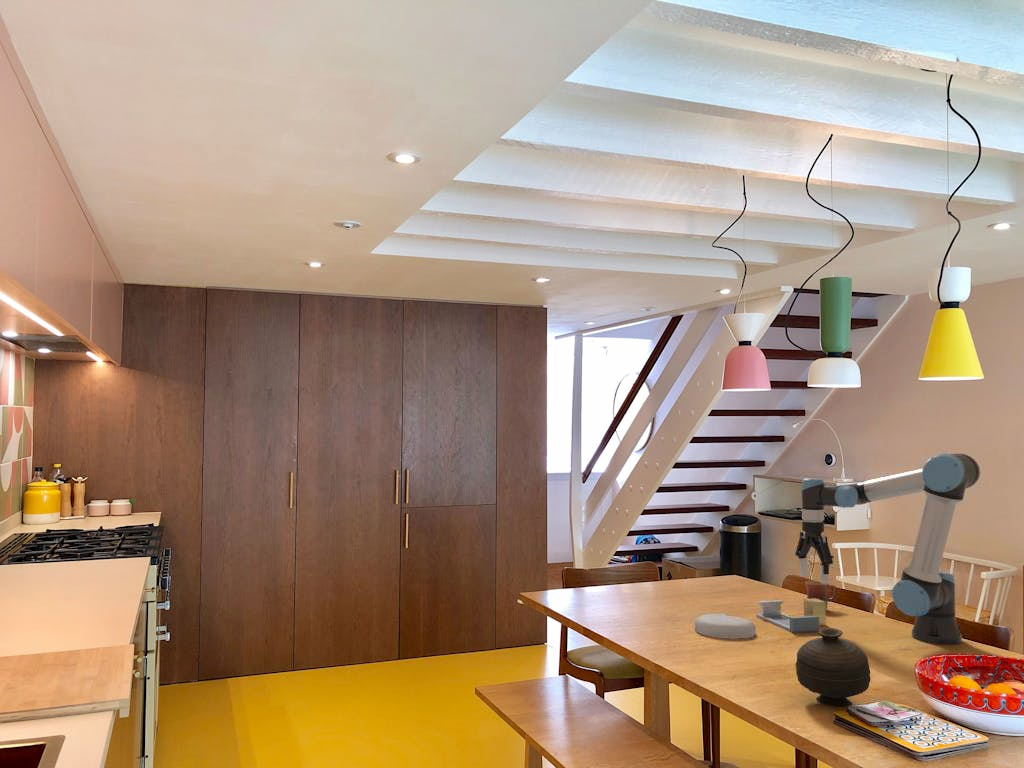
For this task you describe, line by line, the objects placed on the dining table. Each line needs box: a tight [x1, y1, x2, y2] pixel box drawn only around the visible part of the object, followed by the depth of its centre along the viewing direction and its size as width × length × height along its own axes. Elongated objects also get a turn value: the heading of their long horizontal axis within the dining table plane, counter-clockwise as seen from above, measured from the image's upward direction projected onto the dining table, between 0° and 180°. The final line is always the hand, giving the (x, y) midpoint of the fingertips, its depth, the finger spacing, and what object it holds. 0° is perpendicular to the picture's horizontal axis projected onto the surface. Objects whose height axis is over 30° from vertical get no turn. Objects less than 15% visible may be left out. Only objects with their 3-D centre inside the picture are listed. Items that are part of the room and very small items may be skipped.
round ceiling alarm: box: [694, 612, 756, 640], centre depth 287 cm, size 25×25×6 cm
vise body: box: [756, 612, 820, 633], centre depth 299 cm, size 25×10×6 cm, turn 12°
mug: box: [804, 580, 838, 610], centre depth 327 cm, size 12×9×10 cm
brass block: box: [803, 598, 827, 626], centre depth 301 cm, size 6×5×9 cm
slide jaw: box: [757, 599, 784, 616], centre depth 310 cm, size 2×9×5 cm, turn 102°
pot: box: [794, 627, 871, 708], centre depth 212 cm, size 18×18×20 cm
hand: (813, 579), depth 301 cm, fingers open, 13 cm apart
